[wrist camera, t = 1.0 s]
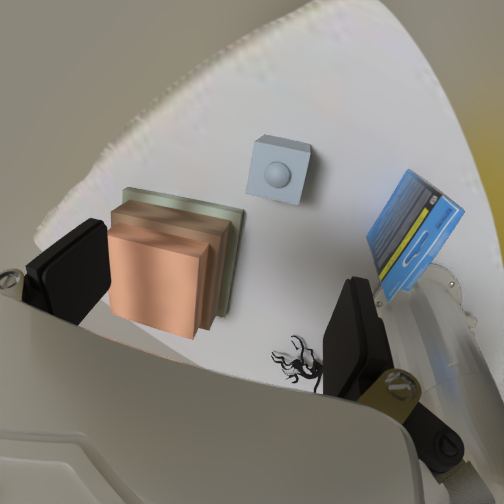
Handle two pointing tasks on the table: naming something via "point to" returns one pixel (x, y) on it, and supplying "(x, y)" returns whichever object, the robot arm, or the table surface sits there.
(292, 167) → the slate brick
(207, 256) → the stepped plate stack
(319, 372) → the creature
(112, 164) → the table surface
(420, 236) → the label tape box
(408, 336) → the robot arm
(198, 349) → the table surface
